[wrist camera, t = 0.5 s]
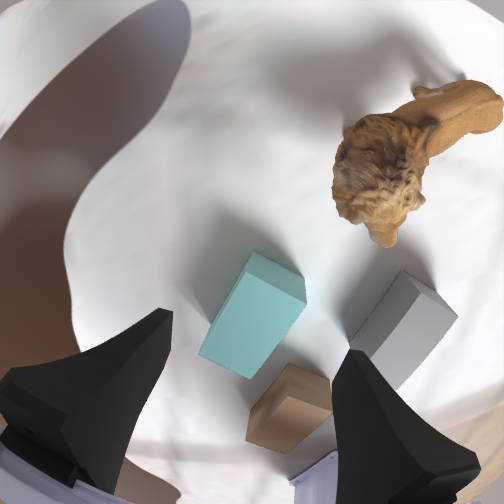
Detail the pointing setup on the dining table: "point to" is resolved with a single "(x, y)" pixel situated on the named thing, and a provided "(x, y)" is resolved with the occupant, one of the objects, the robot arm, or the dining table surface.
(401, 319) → the gray brick
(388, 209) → the lion figurine
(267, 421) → the walnut brick
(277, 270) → the teal brick
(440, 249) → the dining table surface
